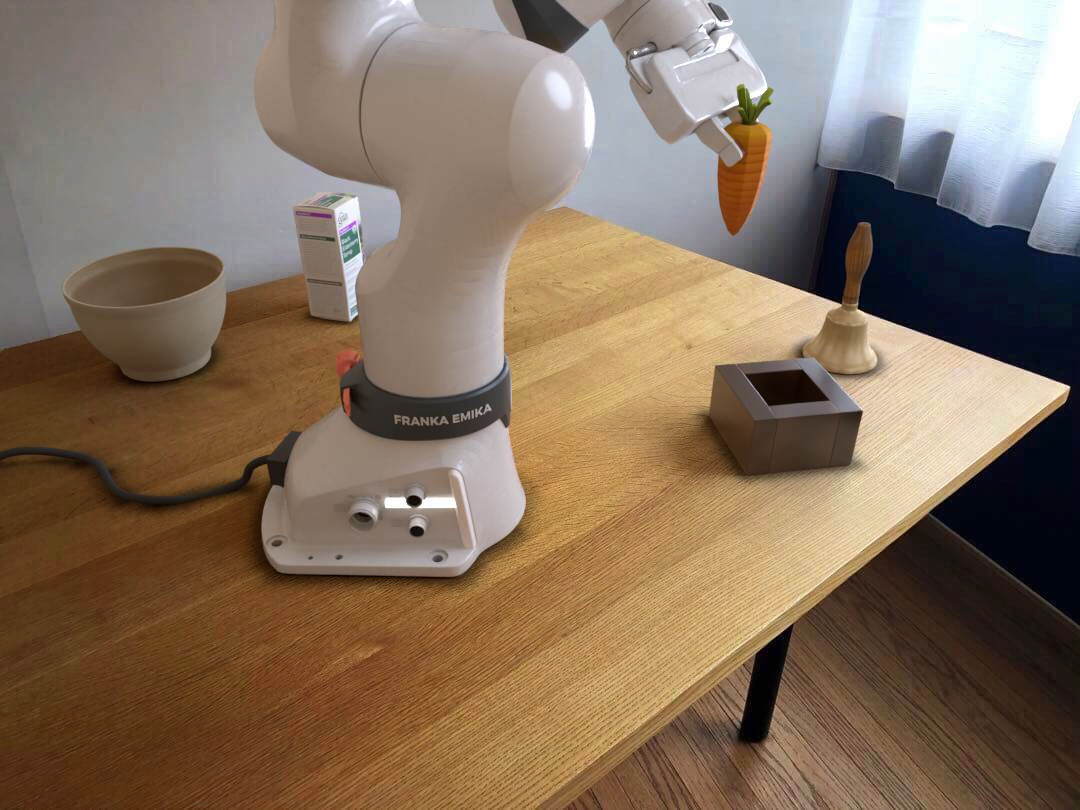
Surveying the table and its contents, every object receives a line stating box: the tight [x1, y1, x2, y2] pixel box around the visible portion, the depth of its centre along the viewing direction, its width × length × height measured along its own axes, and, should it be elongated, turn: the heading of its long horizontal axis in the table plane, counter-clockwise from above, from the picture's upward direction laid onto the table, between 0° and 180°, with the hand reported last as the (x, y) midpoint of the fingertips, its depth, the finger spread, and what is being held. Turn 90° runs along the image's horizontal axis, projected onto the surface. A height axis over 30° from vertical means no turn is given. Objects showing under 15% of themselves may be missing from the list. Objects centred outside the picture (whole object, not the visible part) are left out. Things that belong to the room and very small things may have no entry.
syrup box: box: [292, 191, 367, 323], centre depth 106 cm, size 6×6×14 cm
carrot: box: [716, 84, 775, 237], centre depth 85 cm, size 5×5×15 cm
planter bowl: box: [61, 246, 227, 383], centre depth 95 cm, size 16×16×11 cm
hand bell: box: [802, 221, 878, 375], centre depth 95 cm, size 8×8×16 cm
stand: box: [708, 357, 864, 476], centre depth 83 cm, size 10×10×6 cm
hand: (750, 154), depth 84 cm, fingers closed on carrot, 4 cm apart
